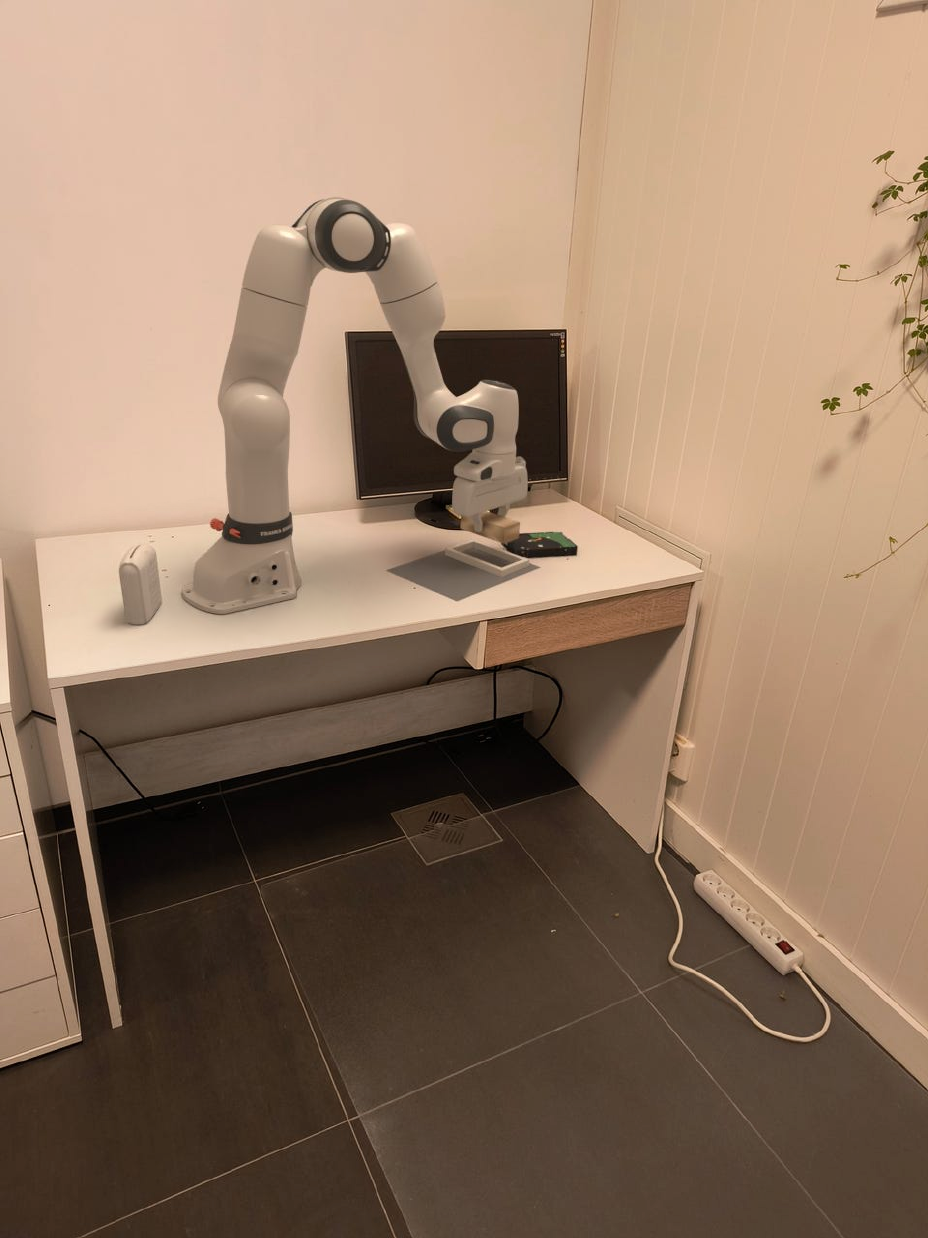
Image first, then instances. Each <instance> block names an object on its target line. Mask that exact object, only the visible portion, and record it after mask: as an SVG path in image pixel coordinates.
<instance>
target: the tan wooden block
mask: <svg viewBox="0 0 928 1238" xmlns="http://www.w3.org/2000/svg"><path fill="white" fill-rule="evenodd" d="M497 514H498V513H497ZM497 514H496V513H493V512H490V511H485V512H483V517H481V519H482V522H483V523H485V530H484V531H482V532H477V531H475V530H474V521H473V519H472V517H471V516H469V517H463V516H460V529H461V530H463V531H466V532H469V533H472V534H475V535H478V536H481V537H483V538H486V539H489V540H492V541H495V542H497V543H500V544H501V543H503V544H504V543H507V542H510V541H513V540H515V539H518V538H519V533H520V530H521V521H518V520H514V519H511V518H509V517H507V516H505V517H503V516H500V515H497Z"/></svg>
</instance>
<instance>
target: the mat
mask: <svg viewBox="0 0 928 1238" xmlns="http://www.w3.org/2000/svg"><path fill="white" fill-rule="evenodd" d="M540 568H541V566H538V565H536V564H533V563H531V562H530V558H525V557H521V556H518V555H515V554H512V553H511V552H509V551H506V550H504V549H501V548H499V547H497V546H493V545H490V544H487V543H484V542H482V541H479V540H477V539H474V538H473V539H469V540H467V541H464V542H461V543H458V544H455V545H452V546H449V547H446V548H445V550H442V551H439V552H436V553H433V554H430V555H427V556H424V557H421V558H418V559H415V560H412V561H410V562H409V561H408V562H406V563H403V564H400V565H397V566H394V567H392V568H388V569H386V570H385V571H386V572H388V573H391V574H393V575H395V576H397V577H400V578H403V579H405V580H406V581H407V580H408V581H410V582H411V583H414V584H416V585H418V586H421V587H423V588H425V589H427V590H430V591H432V592H435V593H436V594H439V595H441V596H444V597H445V598H448V599H451V600H453V601H455V602H458V601H462V600H464V599H466V598H469V597H471V596H474V595H476V594H479V593H482V592H483V591H486V590H489V589H491V588H493V587H496V586H498V585H501V584H504V583H506V582H508V581H511V580H513V579H516V578H518V577H520V576H521V577H522V575H525V574H528V573H530V572H533V571H536V570H538V569H540Z"/></svg>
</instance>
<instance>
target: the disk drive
mask: <svg viewBox="0 0 928 1238" xmlns="http://www.w3.org/2000/svg"><path fill="white" fill-rule="evenodd" d="M500 544H501V545H502V546H503V547H504V548H505V549H506V550H507V552H510V553H512V554H515V555H518V556H521V557H523V558H526V559H539V558H540V559H541V558H556V557H557V558H558V557H559V558H560V557H576V556H578V548H579V546H578V545H577V544H576V543H575V542H573V540H572V539H571V538H568V536H566V535H565V534H564V533H563V532H562V531H542V532H541V531H540V532H522V533H520V532H519V538H518V539H515V540H513V541H510V542H507V543H504V544H503V543H500Z"/></svg>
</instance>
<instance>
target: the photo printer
mask: <svg viewBox="0 0 928 1238" xmlns="http://www.w3.org/2000/svg"><path fill="white" fill-rule="evenodd" d="M159 573H160V572H159V567H158V558H157V552H156V549H155V548H154V547H153V545H151V544H150V543H145V542H144V543H140V542H139V543H136V544H134V545H132V546H131V547H130V548H129V549H128V550H127V551H126V552H125V554H124V555H123V556H122V559H121V560H120V563H119V566H118V575H119V584H120V590H121V596H122V597H121V598H122V604H123V610H124V617H125V621H126V623H129V624H130V625H134V626H135V625H144V624H146V623H148V622H149V621H150V620H151V619H152V618H153V617H154V615H155V614H156V613H157V610H158V609H159V608H160V607H161V604H162V600H163V599H162V589H161V584H160V583H161V581H160V574H159Z"/></svg>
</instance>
